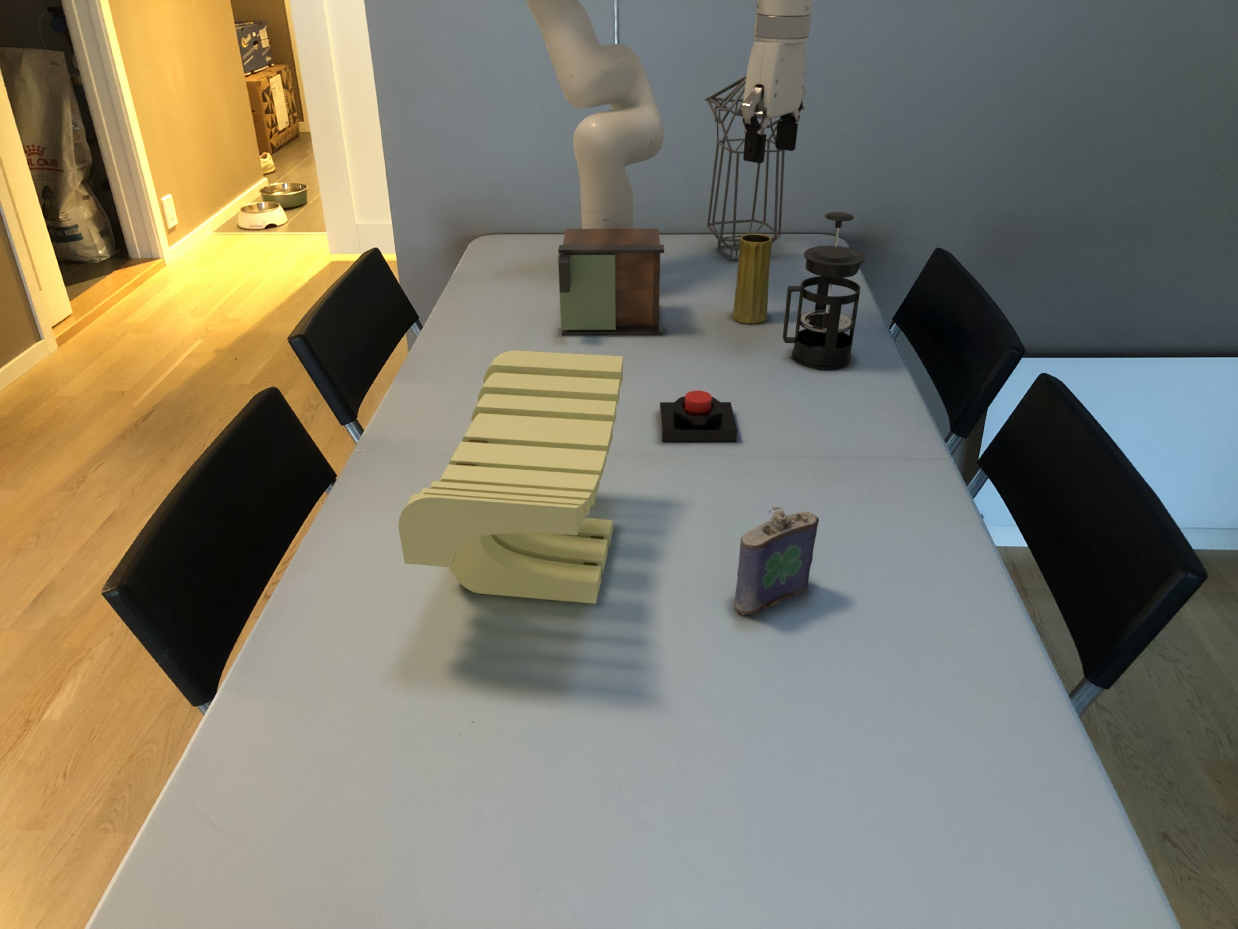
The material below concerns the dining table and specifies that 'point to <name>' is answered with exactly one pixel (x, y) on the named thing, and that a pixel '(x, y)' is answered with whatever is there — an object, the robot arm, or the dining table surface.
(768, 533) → the flask
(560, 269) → the door
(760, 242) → the vase
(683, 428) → the control block
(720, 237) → the geometric lantern
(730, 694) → the dining table surface
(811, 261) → the french press
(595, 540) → the slatted curved stool
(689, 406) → the button
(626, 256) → the cupboard
